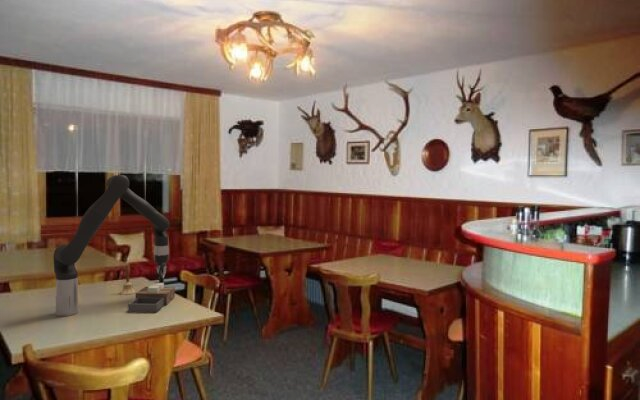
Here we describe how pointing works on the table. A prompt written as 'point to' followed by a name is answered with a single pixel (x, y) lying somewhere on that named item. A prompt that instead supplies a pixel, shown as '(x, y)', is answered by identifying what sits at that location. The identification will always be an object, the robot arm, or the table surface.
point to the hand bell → (127, 284)
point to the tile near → (153, 289)
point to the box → (146, 305)
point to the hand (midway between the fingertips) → (161, 284)
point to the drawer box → (158, 294)
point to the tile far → (159, 285)
